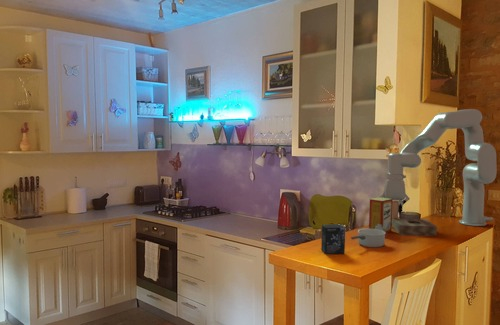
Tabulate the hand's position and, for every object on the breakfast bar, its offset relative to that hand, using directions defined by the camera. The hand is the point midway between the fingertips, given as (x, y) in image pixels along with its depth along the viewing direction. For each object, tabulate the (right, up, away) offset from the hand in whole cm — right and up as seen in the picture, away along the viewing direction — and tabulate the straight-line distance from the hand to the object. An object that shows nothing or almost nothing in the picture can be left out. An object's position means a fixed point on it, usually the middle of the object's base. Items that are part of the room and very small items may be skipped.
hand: (393, 212), depth 213 cm
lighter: (-14, -8, -24) cm, 29 cm away
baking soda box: (-12, -8, -14) cm, 20 cm away
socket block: (+5, -7, -14) cm, 17 cm away
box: (-41, -10, -50) cm, 65 cm away
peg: (0, -6, 0) cm, 6 cm away
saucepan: (-26, -10, -41) cm, 49 cm away
